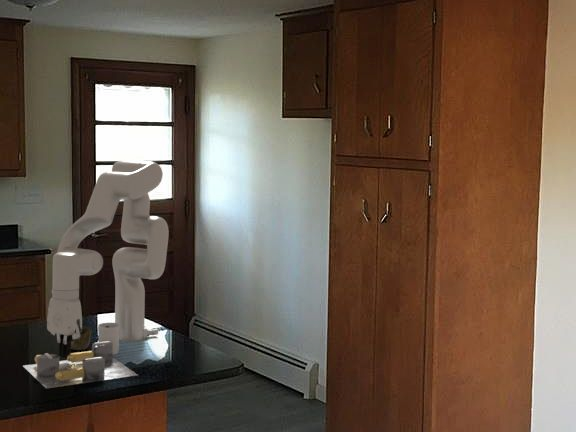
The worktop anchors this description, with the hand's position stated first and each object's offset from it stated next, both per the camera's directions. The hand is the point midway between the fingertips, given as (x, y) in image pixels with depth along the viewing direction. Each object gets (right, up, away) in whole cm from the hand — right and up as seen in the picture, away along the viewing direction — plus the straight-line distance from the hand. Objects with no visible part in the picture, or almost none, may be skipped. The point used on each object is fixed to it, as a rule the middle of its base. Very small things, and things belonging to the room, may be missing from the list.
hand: (64, 355), depth 241 cm
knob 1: (-3, -3, -9) cm, 10 cm away
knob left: (+9, -4, -16) cm, 18 cm away
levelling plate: (+6, -4, -7) cm, 10 cm away
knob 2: (+7, -2, +1) cm, 7 cm away
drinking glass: (+10, -3, +13) cm, 16 cm away
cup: (+1, -2, +15) cm, 15 cm away
